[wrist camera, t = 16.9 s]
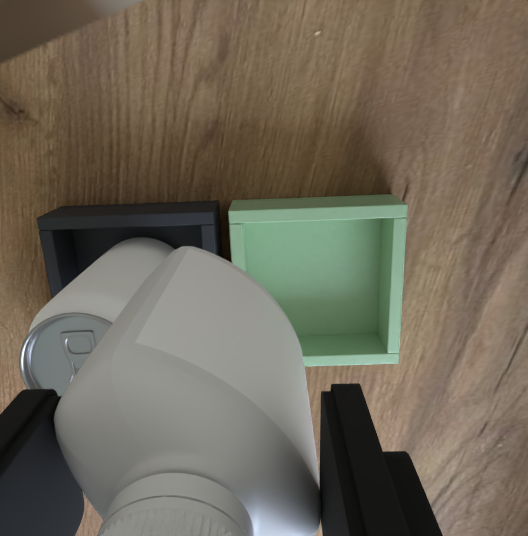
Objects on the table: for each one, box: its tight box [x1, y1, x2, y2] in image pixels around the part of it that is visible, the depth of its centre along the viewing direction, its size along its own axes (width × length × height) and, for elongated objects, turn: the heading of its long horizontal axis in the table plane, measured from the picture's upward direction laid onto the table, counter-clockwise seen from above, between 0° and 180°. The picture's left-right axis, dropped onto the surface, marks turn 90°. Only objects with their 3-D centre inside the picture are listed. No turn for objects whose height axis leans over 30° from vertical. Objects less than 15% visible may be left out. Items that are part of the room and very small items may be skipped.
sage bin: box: [228, 194, 408, 366], centre depth 31 cm, size 11×11×4 cm
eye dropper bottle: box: [54, 246, 321, 536], centre depth 10 cm, size 4×6×12 cm
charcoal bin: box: [37, 201, 223, 299], centre depth 32 cm, size 11×11×4 cm
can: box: [19, 237, 175, 396], centre depth 27 cm, size 6×6×12 cm
